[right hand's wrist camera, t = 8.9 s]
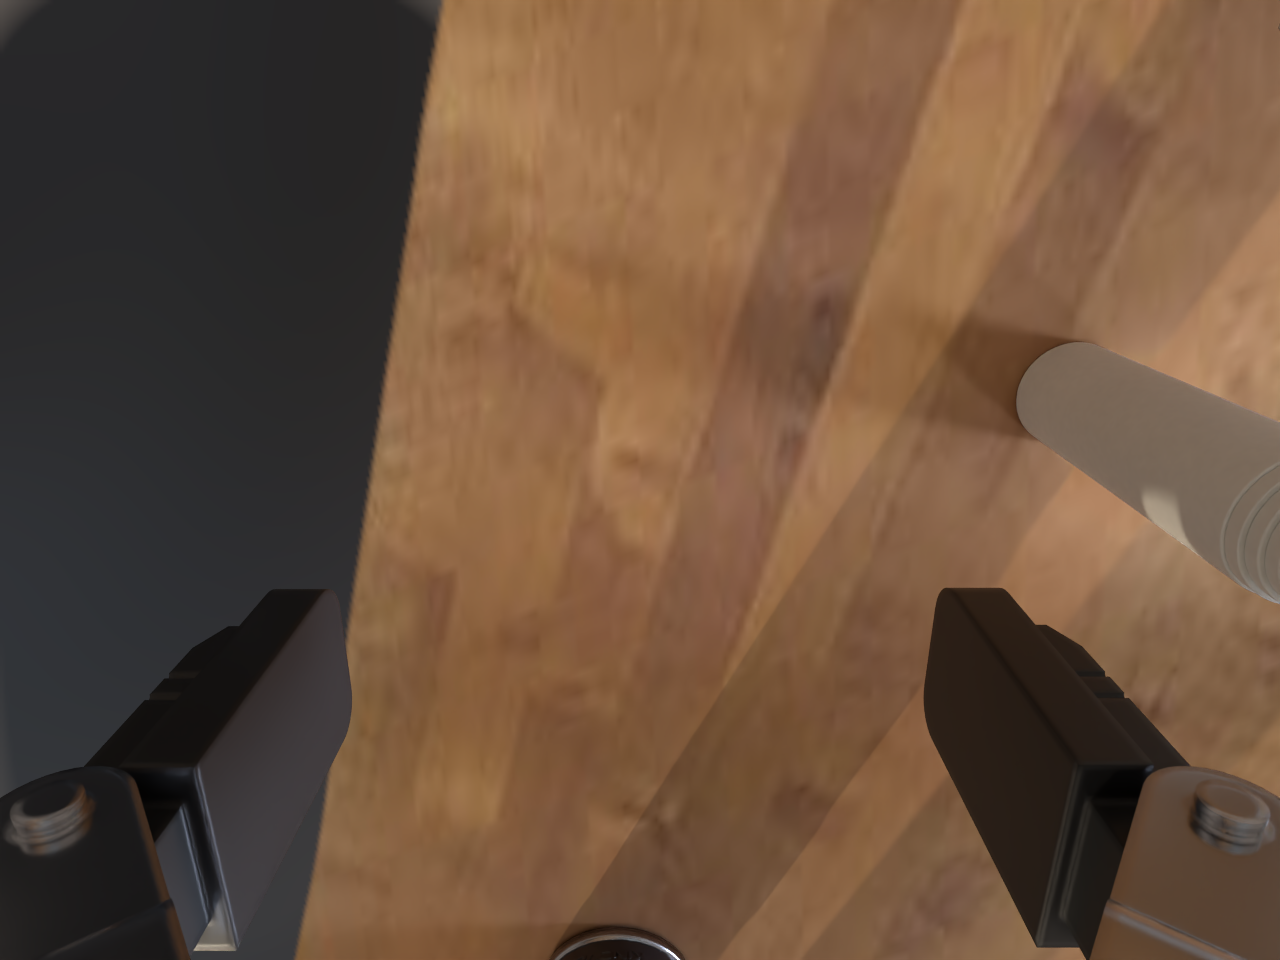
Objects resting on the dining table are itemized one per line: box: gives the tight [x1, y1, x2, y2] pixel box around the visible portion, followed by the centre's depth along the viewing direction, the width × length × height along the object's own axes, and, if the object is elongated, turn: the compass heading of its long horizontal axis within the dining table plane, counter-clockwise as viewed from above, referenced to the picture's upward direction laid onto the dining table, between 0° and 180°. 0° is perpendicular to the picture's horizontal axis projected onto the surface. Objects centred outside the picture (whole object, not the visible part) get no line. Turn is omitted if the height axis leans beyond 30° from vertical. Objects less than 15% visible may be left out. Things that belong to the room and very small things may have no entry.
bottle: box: [1016, 342, 1280, 604], centre depth 30 cm, size 5×5×21 cm
